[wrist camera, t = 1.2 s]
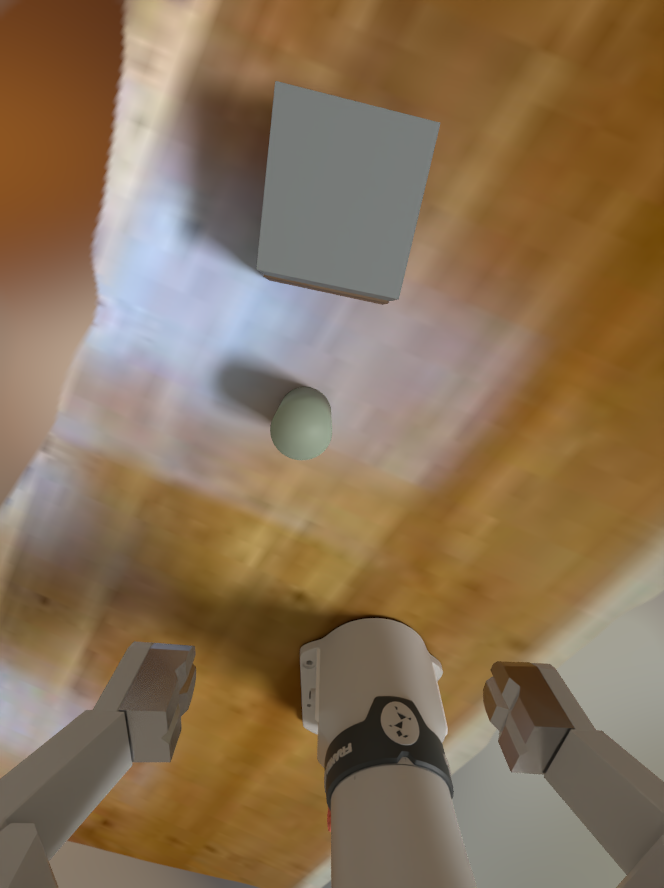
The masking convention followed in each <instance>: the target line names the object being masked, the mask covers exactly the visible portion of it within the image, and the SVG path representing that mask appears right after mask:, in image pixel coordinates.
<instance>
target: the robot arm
mask: <svg viewBox="0 0 664 888" xmlns="http://www.w3.org/2000/svg"><path fill="white" fill-rule="evenodd" d="M194 658H195V646H188V645H175V644H162V643H149V642H133V643H132V644H131V646H130V647H129V648H128V649H127V651H126V652H125V654H124V656H123V658H122V660H121V661H120V663H119V665H118V667H117V668H116V670H115V672H114V674H113V675H112V677H111V679H110V681H109V682H108V684H107V686H106V688H105V689H104V691H103V693H102V695H101V696H100V698H99V700H98V702H97V703H96V705H95V707H94V709H93V710H86V711H84V712H83V713H82V714H81V715H79V716H78V717H77V718H76V719H74V720H73V721H72V722H71V723H69V724H68V725H67V726H66V727H64V728H63V729H62V730H61V731H59V732H58V733H57V734H56V735H54V736H53V737H52V738H51V739H49V740H48V741H47V742H46V743H44V744H43V745H42V746H41V747H39V748H38V749H37V750H36V751H34V752H33V753H32V754H31V755H29V756H28V757H27V758H26V759H24V760H23V761H22V762H21V763H19V764H18V765H17V766H16V767H15V768H13V769H12V770H11V771H10V772H8V773H7V774H6V775H5V776H3V777H2V778H1V779H0V888H58V885H57V882H56V880H55V877H54V874H53V872H52V869H51V866H50V864H49V860H50V859H51V858H52V857H53V856H54V855H55V853H56V852H57V851H58V850H59V849H60V848H61V847H62V845H63V844H64V843H65V842H66V841H67V840H68V839H69V837H70V836H71V835H72V834H73V833H74V832H75V830H76V829H77V828H78V827H79V826H80V825H81V824H82V822H83V821H84V820H85V819H86V818H87V817H88V816H89V814H90V813H91V812H92V811H93V810H94V809H95V807H96V806H97V805H98V804H99V803H100V802H101V801H102V799H103V798H104V797H105V796H106V795H107V794H108V793H109V791H110V790H111V789H112V788H113V787H114V786H115V784H116V783H117V782H118V781H119V780H120V779H121V778H122V776H123V775H124V774H125V773H126V772H127V771H128V770H129V768H130V767H131V766H132V762H171V759H172V756H173V753H174V750H175V747H176V744H177V741H178V738H179V735H180V732H181V716H182V715H183V714H184V713H185V712H186V711H187V710H188V708H189V705H190V702H191V699H192V695H193V691H194V686H195V680H196V667H195V666H194V664H193V661H194ZM300 672H301V695H302V718H303V726H304V728H306V729H307V730H309V731H311V732H313V733H315V734H318V745H317V759H318V761H319V763H320V764H321V765H322V766H323V767H324V768H325V774H324V784H325V792H326V797H327V804H328V815H327V817H328V818H327V822H328V830H329V831H331V883H332V888H477V885H476V882H475V879H474V876H473V873H472V869H471V866H470V863H469V859H468V856H467V853H466V849H465V846H464V842H463V839H462V835H461V832H460V828H459V825H458V821H457V817H456V814H455V810H454V806H453V803H452V798H453V792H454V791H453V785H452V781H451V772H450V768H449V764H448V760H447V758H446V756H445V753H444V749H443V745H442V742H443V740H444V738H445V736H446V735H447V723H446V719H445V714H444V710H443V705H442V701H441V696H440V692H439V687H438V683H437V681H438V680H439V679H440V677H441V676H442V674H443V671H442V666H441V663H440V662H439V661H438V660H437V659H436V658H435V657H433V656H432V655H431V654H429V652H428V650H427V648H426V646H425V644H424V642H423V640H422V638H421V637H420V636H419V635H418V634H417V633H416V632H415V631H414V630H413V629H411V628H410V627H408V626H406V625H405V624H402V623H400V622H397V621H394V620H390V619H383V618H366V619H360V620H355V621H352V622H349V623H346V624H344V625H342V626H340V627H338V628H336V629H335V630H333V631H332V632H331V633H329V634H328V635H327V636H325V637H324V638H322V639H320V640H316V641H313V642H310V643H307V644H305V645H303V646H302V647H301V648H300ZM491 672H492V675H493V677H491V678H490V679H488V680H487V681H486V683H485V686H484V689H483V701H484V705H485V710H486V713H487V715H488V718H489V720H490V722H491V723H492V724H493V725H494V726H495V727H496V728H497V729H498V730H499V731H500V733H499V739H498V742H499V745H500V747H501V749H502V752H503V754H504V757H505V759H506V761H507V764H508V766H509V769H510V771H511V772H513V773H529V774H544V778H545V779H546V780H547V781H548V782H549V784H550V785H551V786H552V787H553V788H554V789H555V791H556V792H557V793H558V794H559V795H560V797H561V798H562V799H563V800H564V801H565V803H567V805H568V806H569V807H570V808H571V810H572V811H573V812H574V813H575V814H576V816H577V817H578V818H579V819H580V820H581V821H582V823H583V824H584V825H585V826H586V827H587V829H588V830H589V831H590V832H591V833H592V834H593V836H594V837H595V838H596V839H597V840H598V842H599V843H600V844H601V845H602V846H603V847H604V849H605V850H606V851H607V852H608V853H609V855H610V856H611V857H612V858H613V859H614V860H615V862H616V863H617V864H618V865H619V866H620V868H621V869H622V870H623V871H624V872H625V873H626V875H627V876H626V877H625V878H624V879H623V880H622V881H621V883H620V884H619V885H618V886H617V887H616V888H664V782H663V781H662V780H661V779H659V778H658V777H657V776H656V775H655V774H653V773H652V772H651V771H650V770H648V769H647V768H646V767H645V766H644V765H642V764H641V763H640V762H639V761H638V760H637V759H635V758H634V757H633V756H632V755H630V754H629V753H628V752H627V751H626V750H624V749H623V748H622V747H621V746H620V745H618V744H617V743H616V742H615V741H614V740H612V739H611V738H610V737H609V736H608V735H606V734H605V733H604V732H603V731H598V730H596V729H595V728H594V726H593V725H592V723H591V722H590V720H589V719H588V717H587V716H586V714H585V712H584V711H583V709H582V708H581V707H580V705H579V703H578V702H577V700H576V699H575V697H574V696H573V694H572V693H571V692H570V690H569V688H568V687H567V685H566V684H565V682H564V681H563V679H562V678H561V676H560V675H559V673H558V672H557V670H556V669H555V668H554V667H553V666H552V665H551V664H538V663H529V662H501V661H497V662H495V663H494V664H493V665H492V668H491Z"/></svg>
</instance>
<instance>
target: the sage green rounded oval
mask: <svg viewBox="0 0 664 888" xmlns="http://www.w3.org/2000/svg"><path fill="white" fill-rule="evenodd" d="M270 432H271V438H272V441H273V443H274V445H275V446H276V448H277V449H278V450H279V451H280V452H281V453H282V454H284V455H285V456H287V457H289V458H292V459H296V460H308V459H312V458H315V457H317V456H318V455H320V454H321V453H322V452H324V451H325V449H326V448H327V447H328V445H329V443H330V441H331V437H332V421H331V407H330V404H329V402H328V400H327V398H326V397H325V396H324V395H323V394H322V393H321V392H319V391H318V390H316V389H313V388H309V387H300V388H296V389H294V390H292V391H290V392H289V393H288V394H287V395H286V396H285V397H284V399H283V400H282V402H281V404H280V406H279V408H278V410H277V412H276V414H275V416H274V417H273V420H272V422H271V428H270Z"/></svg>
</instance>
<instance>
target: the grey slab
mask: <svg viewBox="0 0 664 888" xmlns="http://www.w3.org/2000/svg"><path fill="white" fill-rule="evenodd" d="M439 126H440V123H439V122H435V121H431V120H427V119H423V118H419V117H415V116H411V115H407V114H404V113H400V112H396V111H392V110H388V109H384V108H380V107H376V106H372V105H368V104H364V103H360V102H356V101H352V100H348V99H344V98H341V97H337V96H333V95H329V94H325V93H321V92H317V91H313V90H309V89H305V88H301V87H297V86H293V85H289V84H285V83H281V82H278V81H275V90H274V100H273V110H272V119H271V129H270V139H269V149H268V159H267V169H266V178H265V188H264V198H263V208H262V218H261V228H260V237H259V247H258V257H257V267H256V270H258V271H259V272H261V273H262V274H264V275H267V276H272V277H277V278H281V279H286V280H291V281H296V282H301V283H305V284H310V285H315V286H320V287H325V288H329V289H334V290H339V291H344V292H349V293H353V294H358V295H363V296H368V297H373V298H377V299H382V300H387V301H393V300H397V299H399V296H400V291H401V287H402V283H403V279H404V275H405V270H406V266H407V262H408V258H409V253H410V249H411V245H412V241H413V236H414V232H415V228H416V224H417V220H418V215H419V211H420V207H421V203H422V198H423V194H424V190H425V186H426V181H427V177H428V173H429V169H430V165H431V160H432V156H433V152H434V148H435V143H436V139H437V135H438V131H439Z"/></svg>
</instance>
